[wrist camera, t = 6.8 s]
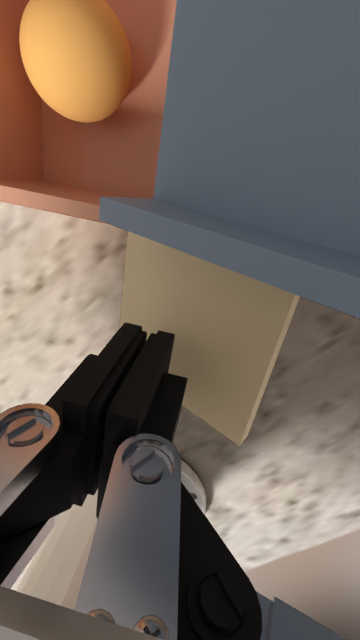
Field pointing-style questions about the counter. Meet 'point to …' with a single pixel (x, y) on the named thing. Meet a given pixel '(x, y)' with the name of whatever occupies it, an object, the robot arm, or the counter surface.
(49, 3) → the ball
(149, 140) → the shallow terracotta crate
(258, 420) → the counter surface
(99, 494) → the robot arm
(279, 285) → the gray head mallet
